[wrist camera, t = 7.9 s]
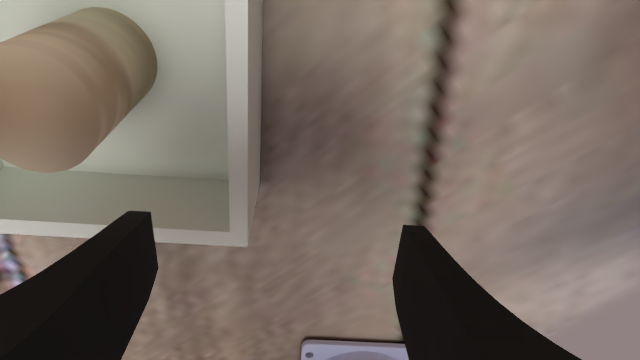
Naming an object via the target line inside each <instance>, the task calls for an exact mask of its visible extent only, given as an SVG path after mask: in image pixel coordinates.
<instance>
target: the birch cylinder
mask: <svg viewBox="0 0 640 360" xmlns="http://www.w3.org/2000/svg"><path fill="white" fill-rule="evenodd" d="M156 76H157V58H156V54H155V50H154V48H153V45H152V43H151V41H150V40H149V38H148V36H147V35H146V34H145V32H144V31H143V30H142V29H141V28H140V26H138V25H137V24H136V23H135V22H134V21H133V20H131V19H130V18H129V17H127V16H125V15H124V14H122V13H120V12H117V11H115V10H112V9H108V8H102V7H90V8H85V9H81V10H78V11H76V12H73V13H71V14H69V15H66V16H64V17H61V18H59V19H56V20H54V21H51V22H49V23H46V24H44V25H42V26H39V27H37V28H34V29H32V30H29V31H27V32H24V33H22V34H19V35H17V36H15V37H12V38H10V39H7V40H5V41H2V42H0V158H1V159H2V160H4V161H6V162H8V163H10V164H12V165H15V166H17V167H20V168H23V169H26V170H30V171H35V172H45V173H52V172H60V171H65V170H68V169H71V168H73V167H75V166H77V165H79V164H80V163H81V162H83V161H84V160H85V159H86V158H87V157H88V156H89V155H90V154H91V153H92V152H93V151H94V150H95V149H96V147H97V146H98V145H99V144H100V143H101V142H102V141H103V140H104V139H105V138H106V137H107V136H108V135H109V134H110V133H111V131H112V130H113V129H114V128H115V127H116V126H117V125H118V124H119V123H120V122H121V121H122V120H123V119H124V118H125V117H126V115H127V114H128V113H129V112H130V111H131V110H132V109H133V108H134V107H135V106H136V105H137V104H138V103H139V102H140V100H141V99H142V98H143V97H144V96H145V95H146V94H147V93H148V92H149V91H150V89H151V88H152V86H153V84H154V82H155V79H156Z"/></svg>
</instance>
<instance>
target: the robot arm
mask: <svg viewBox="0 0 640 360" xmlns="http://www.w3.org/2000/svg"><path fill="white" fill-rule="evenodd" d="M157 271H158V262H157V254H156V247H155V240H154V232H153V225H152V218H151V212H147V211H128V212H126V213H125V214H123V215H122V216H120V217H119V218H117V219H116V220H115V221H113V222H112V223H111V224H109V225H108V226H107V227H105V228H104V229H103V230H101V231H100V232H98V233H97V234H96V235H94V236H93V237H92V238H90V239H89V240H87V241H86V242H85V243H83V244H82V245H80V246H79V247H78V248H76V249H75V250H73V251H72V252H70V253H69V254H67V255H66V256H64V257H63V258H61V259H60V260H58V261H57V262H55V263H54V264H52V265H51V266H49V267H48V268H46V269H45V270H43V271H41V272H40V273H38V274H36V275H35V276H33V277H31V278H30V279H28V280H26V281H25V282H23V283H21V284H19V285H17V286H15V287H14V288H12V289H10V290H8V291H6V292H4V293H3V294H1V295H0V360H121V358H122V356H123V354H124V352H125V350H126V347H127V345H128V343H129V341H130V339H131V337H132V335H133V333H134V330H135V328H136V326H137V324H138V322H139V320H140V317H141V315H142V313H143V311H144V309H145V306H146V304H147V302H148V300H149V297H150V294H151V291H152V287H153V284H154V281H155V277H156V274H157ZM393 288H394V297H395V304H396V311H397V315H398V319H399V323H400V327H401V331H402V335H403V339H404V343H405V344H396V343H374V342H353V341H331V340H306V341H304V342H303V343H302V349H301V360H581V359H580V358H578V357H576V356H575V355H573V354H571V353H569V352H568V351H566V350H565V349H563V348H561V347H560V346H558V345H556V344H555V343H553V342H552V341H550V340H549V339H547V338H546V337H544V336H543V335H542V334H540V333H539V332H537V331H536V330H534V329H533V328H531V327H530V326H528V325H527V324H526V323H524V322H523V321H522V320H520V319H519V318H518V317H516V316H515V315H514V314H513V313H511V312H510V311H509V310H508V309H506V308H505V307H504V306H503V305H501V304H500V303H499V302H498V301H497V300H495V299H494V298H493V297H492V296H491V295H490V294H489V293H488V292H486V291H485V290H484V289H483V288H482V287H481V286H480V285H479V284H478V283H477V282H476V281H475V280H474V279H473V278H472V277H471V276H470V275H469V274H468V273H467V272H466V271H465V270H464V269H463V268H462V267H461V266H460V265H459V264H458V263H457V262H456V261H455V260H454V259H453V258H452V257H451V256H450V254H449V253H448V252H447V251H446V250H445V249H444V248H443V247H442V246H441V244H440V243H439V242H438V241H437V240H436V239H435V238H434V237H433V235H432V234H431V233H430V232H429V231H428V230H427V229H426V228H425V227H424V226H414V225H403V228H402V233H401V239H400V244H399V249H398V254H397V259H396V264H395V269H394V274H393ZM308 352H311V353H308Z"/></svg>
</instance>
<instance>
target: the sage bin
mask: <svg viewBox="0 0 640 360" xmlns="http://www.w3.org/2000/svg"><path fill="white" fill-rule="evenodd" d="M90 7H102V8H108V9H112V10H115V11H117V12H120V13H122V14H124V15H125V16H127V17H129V18H130V19H131V20H133V21H134V22H135V23H136V24H137V25H138V26H140V28H141V29H142V30H143V31H144V32H145V34H146V35H147V36H148V38H149V40H150V41H151V43H152V45H153V48H154V50H155V54H156V58H157V76H156V79H155V82H154V84H153V86H152V88H151V89H150V91H149V92H148V93H147V94H146V95H145V96H144V97H143V98H142V99H141V100H140V102H139V103H138V104H137V105H136V106H135V107H134V108H133V109H132V110H131V111H130V112H129V113H128V114H127V115H126V117H125V118H124V119H123V120H122V121H121V122H120V123H119V124H118V125H117V126H116V127H115V128H114V129H113V130H112V131H111V133H110V134H109V135H108V136H107V137H106V138H105V139H104V140H103V141H102V142H101V143H100V144H99V145H98V146H97V147H96V149H95V150H94V151H93V152H92V153H91V154H90V155H89V156H88V157H87V158H86V159H85V160H84V161H83V162H81V163H80V164H79V165H77V166H75V167H73V168H71V169H68V170H65V171H60V172H52V173H45V172H35V171H30V170H26V169H23V168H20V167H17V166H15V165H12V164H10V163H8V162H6V161H4V160H2V159H1V158H0V233H4V234H22V235H40V236H58V237H76V238H92V237H93V236H94V235H96V234H97V233H98V232H100V231H101V230H103V229H104V228H105V227H107V226H108V225H109V224H111V223H112V222H113V221H115V220H116V219H117V218H119V217H120V216H122V215H123V214H125V213H126V212H128V211H147V212H151V218H152V225H153V232H154V240H155V242H164V243H182V244H200V245H218V246H236V247H248V242H249V237H250V232H251V227H252V222H253V217H254V212H255V207H256V202H257V197H258V192H259V187H260V153H261V96H262V40H263V0H0V42H2V41H5V40H7V39H10V38H12V37H15V36H17V35H19V34H22V33H24V32H27V31H29V30H32V29H34V28H37V27H39V26H42V25H44V24H46V23H49V22H51V21H54V20H56V19H59V18H61V17H64V16H66V15H69V14H71V13H73V12H76V11H78V10H81V9H85V8H90Z"/></svg>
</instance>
